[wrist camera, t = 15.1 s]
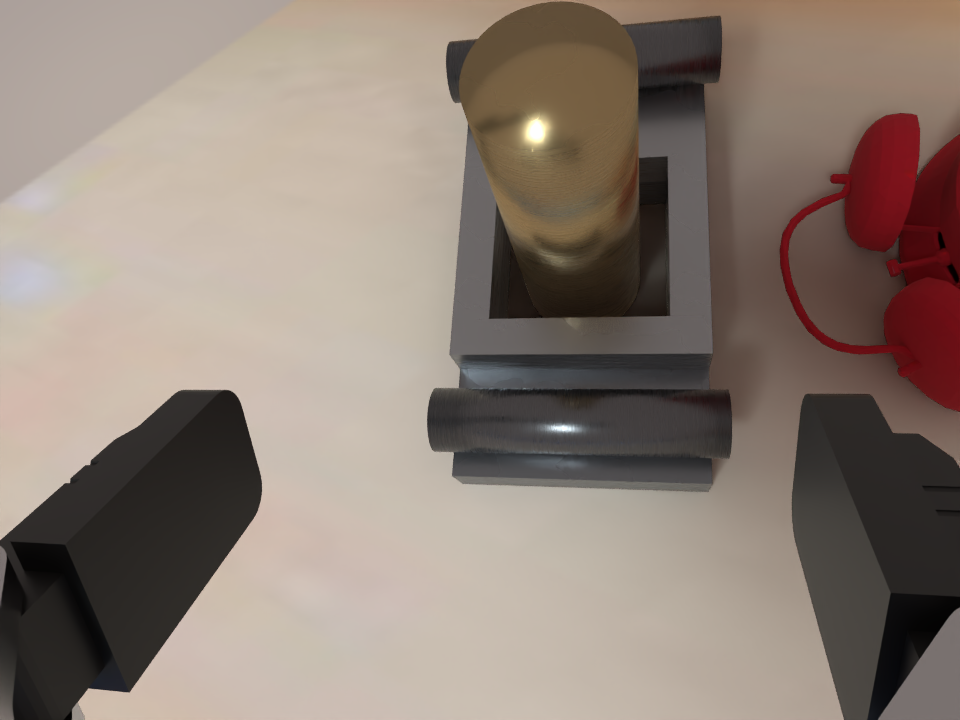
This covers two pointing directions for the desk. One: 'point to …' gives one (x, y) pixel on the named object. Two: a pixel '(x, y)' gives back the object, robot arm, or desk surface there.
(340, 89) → the desk surface
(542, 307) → the bronze pin
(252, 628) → the desk surface
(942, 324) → the alarm clock
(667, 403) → the grey roller frame base
